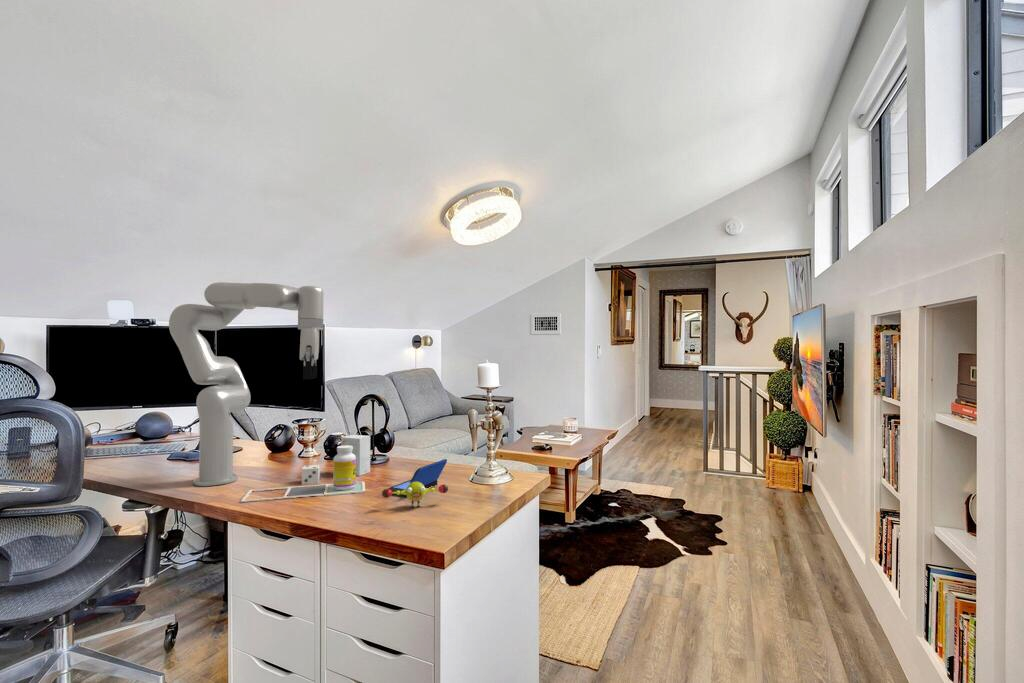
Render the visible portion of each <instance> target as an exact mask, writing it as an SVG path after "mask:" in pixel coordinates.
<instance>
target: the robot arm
mask: <svg viewBox="0 0 1024 683" xmlns="http://www.w3.org/2000/svg"><path fill="white" fill-rule="evenodd" d="M203 294H204V299H205V301H206V302H207V303H208V304H209V305H204V304H198V303H185V304H180V305H178V306H176V307H175V308H174V309H173V310H172V312H171V314H170V316H169V320H168V329H169V333H170V335H171V337H172V339H173V341H174V342H175V344H176V346H177V347H178V350H179V352H180V354H181V357H182V360H183V362H184V364H185V367H186V369H187V371H188V374H189V376H190V378H191V379H192V381H193V382H194V383H195V384H196V385H201V386H202V385H203V386H205V385H206V386H207V385H211V386H207V387H205V388H203V389H202V390H201V391H200V392H198V395H197V396H196V402H195V403H196V404H195V405H196V409H197V413H198V421H199V450H198V451H199V452H198V453H199V454H198V455H199V456H198V460H199V461H198V464H199V465H198V477H197V478H195V479H193V481H192V484H193V485H194V486H197V487H198V486H199V487H212V486H219V485H225V484H231V483H234V482H235V481H237V480H239V477H238V475H237V474H236V473H233V471H234V469H233V468H234V465H233V464H234V461H233V460H234V459H233V458H234V456H233V454H234V425H233V421H232V419H231V416H230V415H229V413H235V412H240V411H243V410H245V409H247V407H248V406H249V405H250V403H251V392H250V389H249V386H248V384H247V382H246V380H245V376H244V374H243V372H242V370H241V368H240V366H239V365H238V362H236V361H235V359H233V358H231V357H230V356H229V357H228V356H217V355H215V353H214V352H213V351H212V349H211V344H210V343H209V341H208V340H207V339H206V337H204V336H203V335H202V334H201V333H200V332H199V330H201V331H212V332H213V331H219V330H222V329H224V328H225V327H227V326H228V325H229V324H230V323H232V321H233V320H234V319H235V318H236V317H237V318H238V316H239V315H240V314H241V313H242V312H243V311H244V310H254V309H256V308H258V307H259V308H273V309H280V310H282V309H283V310H288V311H297V330H300V339H299V340H300V341H299V342H300V344H299V360H300V361H303V366H302V379H303V380H314V379H316V378H317V377H318V365H317V360H319V353H320V331H323V330H324V289H323V288H322V287H320V286H316V285H315V286H314V285H304V286H301V287H299V288H298V287H295V286H289V285H284V284H281V283H280V284H279V283H269V282H268V283H265V282H263V283H260V282H251V283H250V282H249V283H248V282H246V283H245V282H241V283H240V282H225V281H224V282H223V281H222V282H221V281H220V282H213V283H210V284H209V285H208V286H207V287H205V290H204V293H203Z"/></svg>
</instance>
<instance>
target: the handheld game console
mask: <svg viewBox="0 0 1024 683" xmlns="http://www.w3.org/2000/svg"><path fill="white" fill-rule="evenodd" d="M447 462H448V459H446V458H444V459H442V460H439V461H435V462H433V463H431V464H427V465H425V466H421V467H419V468H417V469H416V470H415V472H414V474H413V475H412V477H411V479H409V480H407V481H403V482H401V483H398V484H395V485H393V486H390V487H387V488H386V489H390V490H391V491H392V492H397V491H403V490H406V489H407V487H408V485H409V484H410V483H412V482H420V483H422V484H423V485H424V487H425V488H429V487H431V486H434V487H436V486H438V480H439V478H440V475H441V474H442V472H443V470H444V468H445V466H446V465H447ZM435 485H436V486H435ZM431 488H432V487H431ZM429 489H430V488H429ZM395 495H397V494H392V495H391V496H395ZM401 496H403V497H402V498H408V497H407V495H404V494H399V495H397V496H396V497H401Z"/></svg>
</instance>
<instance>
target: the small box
mask: <svg viewBox="0 0 1024 683" xmlns="http://www.w3.org/2000/svg"><path fill="white" fill-rule="evenodd" d="M344 445H350V446H353V450H352V454H354V455H355V456H356V476H358V477H360V476H363V475H366V474H369V473H371V435H362V434H350V435H345V436H342V437H341V436H340V446H344Z"/></svg>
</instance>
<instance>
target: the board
mask: <svg viewBox="0 0 1024 683" xmlns="http://www.w3.org/2000/svg"><path fill="white" fill-rule="evenodd" d="M291 488H292V489H291ZM274 489H286V492H284V493H285V494H284V495H283V496H278V497H266V498H265V497H264V498H254V499H253V498H252V499H248V498H249V497H250V495H251V494H252V493H253V492H252V491H261V492H263V491H262V490H273V491H275V490H274ZM324 489H325V490H324ZM251 492H252V493H251ZM363 492H365V493H366V484H365V481H356V485H355V487H354V488H352V489H349V490H335V489H334V488H333V483H325V484H308V485H298V486H297V485H295V486H286V487H271V488H270V487H269V488H260V489H259V488H258V489H249V490H248V491H247V492H246V494H245V495H244V496H243V497H242V498H241V500H240V503H241V502H244V501H257V500H269V499H281V500H283V499H282V498H294V499H297V498H296V497H306V498H310V497H309V496H318V497H325V496H324V495H330V496H340V495H339V494H342V495H351V493H354V494H364V493H363ZM250 493H251V494H250ZM323 493H324V494H323ZM249 494H250V495H249ZM287 495H288V496H287ZM247 497H248V498H247ZM246 498H247V499H246ZM245 499H246V500H245ZM269 501H270V500H269ZM257 502H258V501H257Z"/></svg>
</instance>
